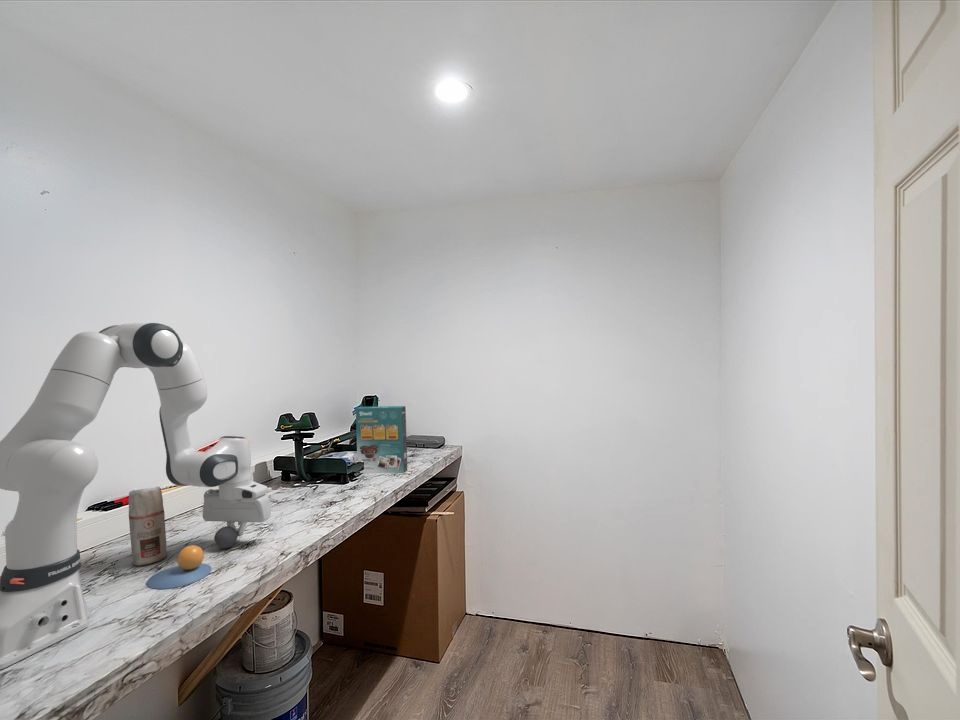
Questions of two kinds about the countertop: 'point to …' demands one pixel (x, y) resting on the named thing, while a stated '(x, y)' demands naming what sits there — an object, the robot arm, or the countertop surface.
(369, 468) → the cake mix box
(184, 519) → the countertop surface
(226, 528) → the black ball
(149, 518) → the beige paper tall bag
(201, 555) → the orange ball
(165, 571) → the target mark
